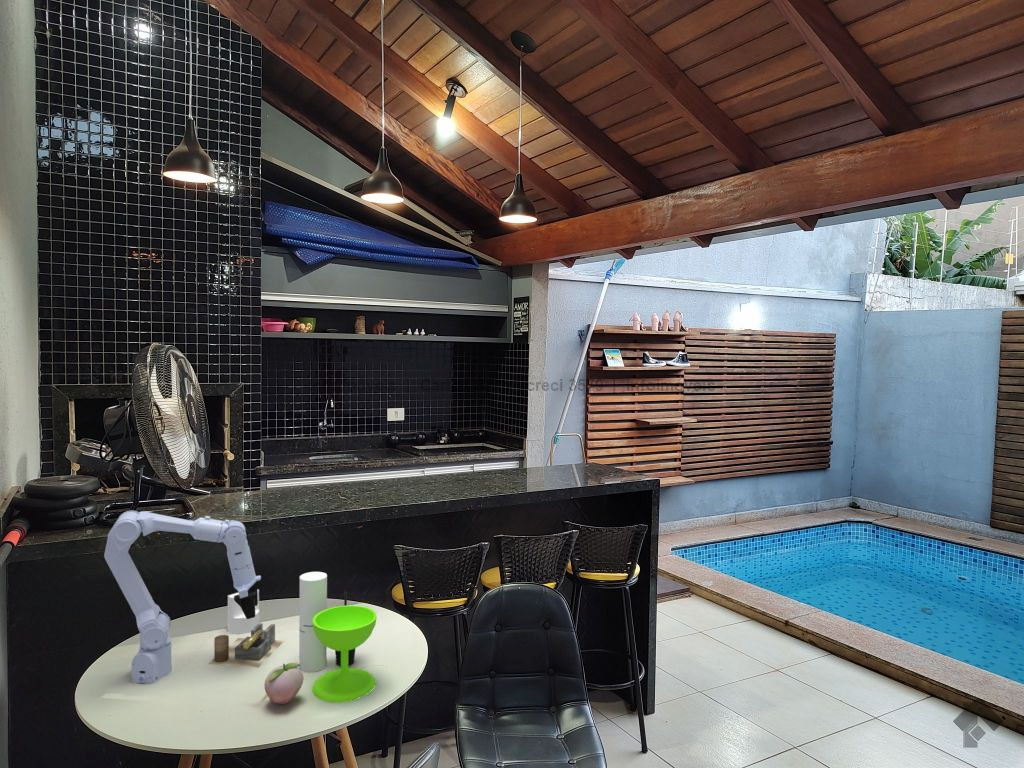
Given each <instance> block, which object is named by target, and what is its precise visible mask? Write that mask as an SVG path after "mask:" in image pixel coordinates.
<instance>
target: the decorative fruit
mask: <svg viewBox="0 0 1024 768" xmlns="http://www.w3.org/2000/svg"><path fill="white" fill-rule="evenodd" d="M299 666H300V664H299V663H298V662H289V663H286V664H285V663H283V664H282V665H279V666H276V667H274V668H273V669H272V670H271V671H270V672H269V673H268V674H267V676H266V678H265V680H264V685H263V686H264V691H265V693H266V695H267V697H268V699H269V700H270V701H272V702H273V703H275V704H281V705H283V704H287V703H288V702H290V701H291V700H292V699H294V698H295V697H296V696H297V695H298V693H299V692H300V690H301V688H302V686H303V684H304V679H305V677H304V674H303V671H301V670H300V669H299Z"/></svg>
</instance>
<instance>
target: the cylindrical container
mask: <svg viewBox="0 0 1024 768" xmlns="http://www.w3.org/2000/svg"><path fill="white" fill-rule="evenodd" d="M326 609H328V574H327V573H326V572H322V571H310V572H309V571H308V572H305V573H303V574H301V575H299V608H298V611H299V617H298V618H299V619H298V620H299V623H298V624H299V629H298V630H299V632H298V633H299V635H298V636H299V637H298V639H299V640H298V641H299V642H298V643H299V644H298V645H299V646H298V647H299V648H298V649H299V653H298V655H299V656H298V661H299V663H298V664H300V666H298V668H299V669H300V670H301V672H304V673H315V672H319V671H322V670H324V669H325V668H326V667H327V655H328V654H327V650H328V649H327V648H328V647H326V646H325V645H323V644H322V643H321V641H320V640H319V639H318V638H317V636H316V634H315V632H314V628H313V618H314V616H315V615H316V614H318V613H319V612H321V611H323V610H326Z"/></svg>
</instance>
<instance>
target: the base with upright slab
mask: <svg viewBox="0 0 1024 768" xmlns="http://www.w3.org/2000/svg"><path fill="white" fill-rule="evenodd" d="M235 595H239V592H238V591H237V592H235V593H231V594H228V595H227V617H226V620H227V621H226V622H227V625H226V626H227V632H228V633H229V634H235V635H245V634H248V633H251V630H252V629H253V628H254V627H255V626H256V625H258V624H259V623H260V589H258V588H257V596H258V604H257V606H255V617H254V618H250V619H247V618H246V617H245V615H244V613H243V611H242V609H241V607H240V606H239V605H238V604H237V603H236V602H235V601H234V596H235Z"/></svg>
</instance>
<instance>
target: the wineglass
mask: <svg viewBox="0 0 1024 768" xmlns="http://www.w3.org/2000/svg"><path fill="white" fill-rule="evenodd" d="M377 618H378V617H377V612H376V611H374V609H372V608H369V607H366V606H361V605H354V604H353V605H349V604H347V606H344V605H339V606H332V607H329V608H327V609H326V610H323V611H321V612H319V613H318V614H316V615H315V616H314V618H313V628H314V632H315V634H316V636H317V638H318V639H319V640H320V641H321V643H322V644H323V645H325V646H326V647H327V648H328V649H330V650H333V651H335V650H336V651H341V666H340V668H337V669H334V670H331V671H330V670H329V671H328V672H325V673H324V674H322V675H321V676H318V678H317V679H316V680H315V681H314V683H313V685H312V688H311V690H312V691H311V692H312V694H313V695H314V696H315V697H316V698H317V699H319V700H322V701H324V702H329V703H346V702H345V701H347V702H351V701H350V700H352V701H355V699H356V700H358V699H357V698H359V697H362V696H364V695H365V694H367V693H369V692H370V691H371V690H372V689H373V688H374V686H375V687H376V685H375V684H377V683H376V682H375V681H376V678H375V676H374V675H373V674H372V673H370V672H369V671H367V670H364V669H361V668H356V667H355V668H354V667H349V666H348V650H352V649H355V650H356V648H359V647H360V646H361V645H362V644H364V643H365V642H367V640H368V639H369V638H370V637H371V635H372V633H373V631H374V629H375V626H376V623H377V622H376V621H377ZM374 689H375V688H374ZM374 689H373V690H374ZM373 690H372V691H373ZM372 691H371V692H372ZM371 692H370V693H371ZM370 693H369V694H370ZM367 695H368V694H367ZM364 697H365V696H364ZM362 698H363V697H362ZM359 699H360V698H359Z"/></svg>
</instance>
